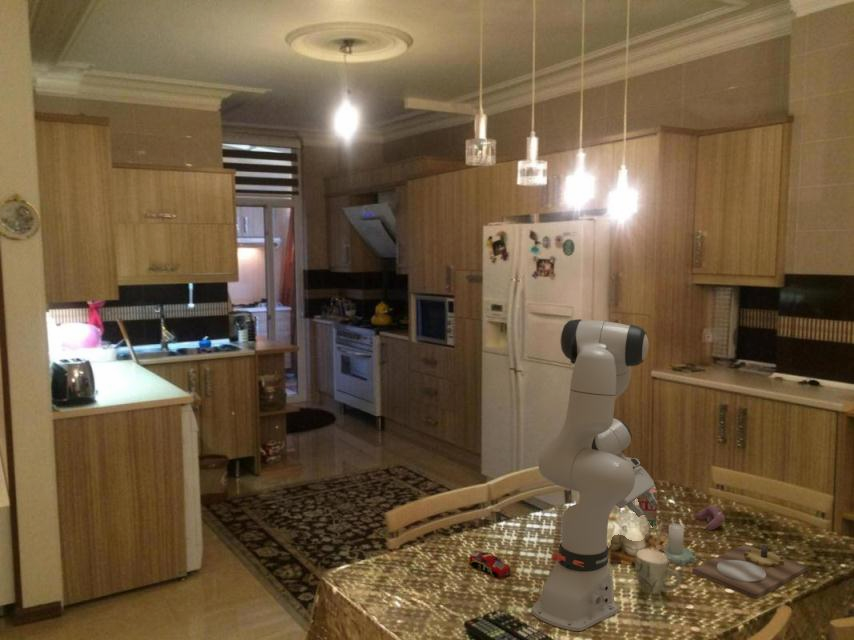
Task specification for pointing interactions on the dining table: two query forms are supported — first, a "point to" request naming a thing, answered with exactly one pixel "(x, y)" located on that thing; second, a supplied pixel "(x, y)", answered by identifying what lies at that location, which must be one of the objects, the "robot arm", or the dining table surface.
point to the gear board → (750, 570)
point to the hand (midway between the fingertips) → (648, 510)
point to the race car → (489, 564)
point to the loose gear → (678, 546)
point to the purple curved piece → (711, 516)
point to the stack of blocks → (648, 507)
